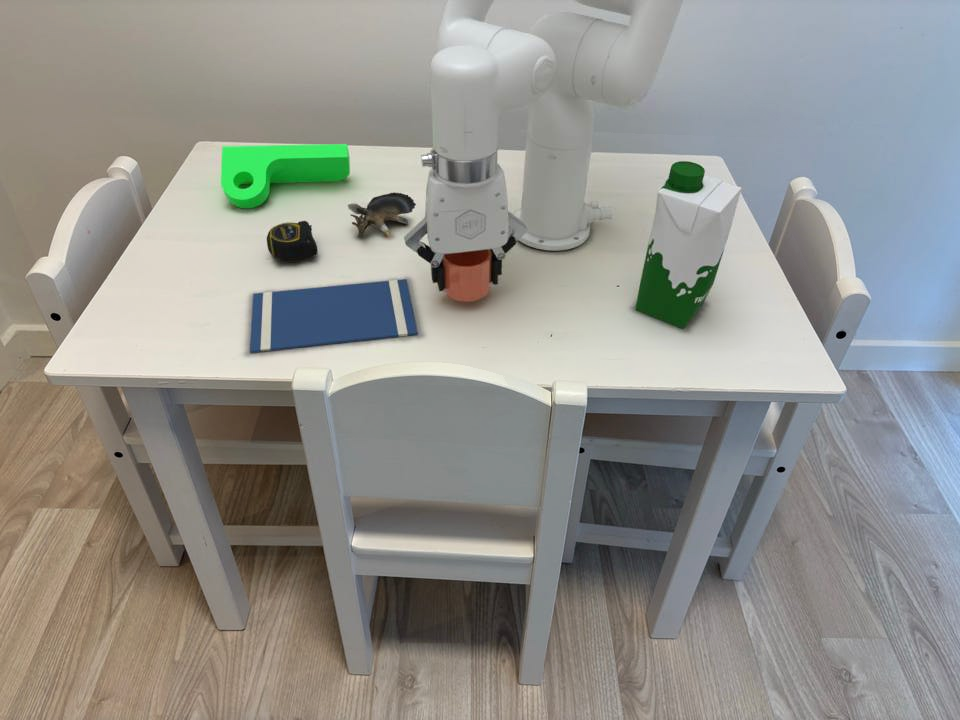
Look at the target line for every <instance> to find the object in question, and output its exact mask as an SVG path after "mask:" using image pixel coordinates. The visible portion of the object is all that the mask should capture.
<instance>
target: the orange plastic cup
mask: <svg viewBox="0 0 960 720" xmlns="http://www.w3.org/2000/svg"><path fill="white" fill-rule="evenodd" d="M442 264H443V267H444V285H445V290H443V291H442V292H444V294H445V295H446V296H447V297H448V298H450V299H452V300H454V301H459V302H474V301H475V302H476V301H478V300H482V299H483V298H485V297H486V296H487V295H488V294H489V293H490V292H491V289H492V285H493V284H492V252H491V249H486V250H478V251H469V252H460V253H450V254H445V255H444V257H443V259H442Z"/></svg>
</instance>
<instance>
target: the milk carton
mask: <svg viewBox="0 0 960 720" xmlns="http://www.w3.org/2000/svg"><path fill="white" fill-rule="evenodd" d="M705 173H706V170H705V168H704V167H703V166H702V165H701V164H698V163H697V162H693V161H687V160H682V161H681V160H680V161H675V162H673V163H672V164H671V166H670V170H669V173H668V178H667V179H666V180H665V182H664V184H663V185H662V187H661V188H660V189H659V190H658V192H657V195H656V205H655V213H654V217H653V222H652V227H651V230H650V235H649V241H648V244H647V249H646V253H645V257H644V262H643V267H642V271H641V277H640V283H639V287H638V293H637V298H636V304H635V310H636V311H638V312H641V313H643V314H645V315H648V316H650V317H653V318H655V319H657V320H659V321H662V322H665V323H667V324H670V325H673V326H675V327H677V328H680V329H682V330H684V329H685V328H686V327H687V325H688V324H689V323H690V322H691V320H692V319H693V318H694V317H695V315H696V313H697V312H698V311H699V309H701V307H702V306H703V304H704V303H705V301H706V299H707V297H708V295H709V293H710V292H711V290H712V287H713V285H714V283H715V281H716V277H717V274H718V271H719V268H720V264H721V261H722V258H723V254H724V252H725V248H726V245H727V242H728V238H729V235H730V232H731V229H732V225H733V221H734V217H735V213H736V211H737V207H738V203H739V199H740V195H741V192H742V189H743V188H742V187H741V186H739V185H738V186H737V185H734V184H731V183H728V182H724V181H723V180H722V179H720V178H717V177H711V176H708V175H705Z"/></svg>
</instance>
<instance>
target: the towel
mask: <svg viewBox="0 0 960 720" xmlns="http://www.w3.org/2000/svg"><path fill="white" fill-rule="evenodd" d="M250 325H251V327H250V342H249V353H250V354H254V353H255V354H256V353H263V352H264V353H265V352H274V351H281V350H291V349H300V348H308V347H309V348H310V347H318V346H327V345H338V344H345V343H354V342H364V341H373V340H383V339H392V338H400V337H410V336H417V335H419V333H418V328H417V322H416V317H415V313H414V309H413V303H412V299H411V293H410V290H409V284H408V281H407V279H406V278H402V279H391V280H383V281H382V280H381V281H372V282H362V283H360V282H359V283H350V284H340V285H330V286H329V285H328V286H320V287H319V286H318V287H309V288H297V289H288V290H279V291H278V290H277V291H266V292H265V291H264V292H258V293H257V292H255V293H253V295H252V309H251V324H250Z"/></svg>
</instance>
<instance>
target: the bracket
mask: <svg viewBox="0 0 960 720" xmlns="http://www.w3.org/2000/svg"><path fill="white" fill-rule="evenodd" d="M350 161H351V159H350V152H349V148H348V143H329V144H327V143H326V144H325V143H324V144H323V143H320V144H280V145H279V144H277V145H273V144H272V145H271V144H270V145H228V146H226V145H224V146H221V167H220V168H221V169H220V171H221V172H220V186H221V187H222V191H223V192H224V194H225V196H226V198H227V200H228V202H230V203H231V204H232V205H233V206H234V207H237V208H240V209H244V210H245V209H253V208H257V207H259V206H261V205H262V204H263V203H264V202H265V201H266V200H267V199H268V198H269V194H270V189H271V186H270V185H271V184H280V183H282V184H285V183H286V184H287V183H321V182H322V183H323V182H327V183H328V182H339V181H343V180H344V179H347V178H348V176H350V174H351V165H350V164H351V163H350ZM241 184H242V185H244V184H246V185H247V184H251V185H250V186H249V187H246V188H240V186H241Z"/></svg>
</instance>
